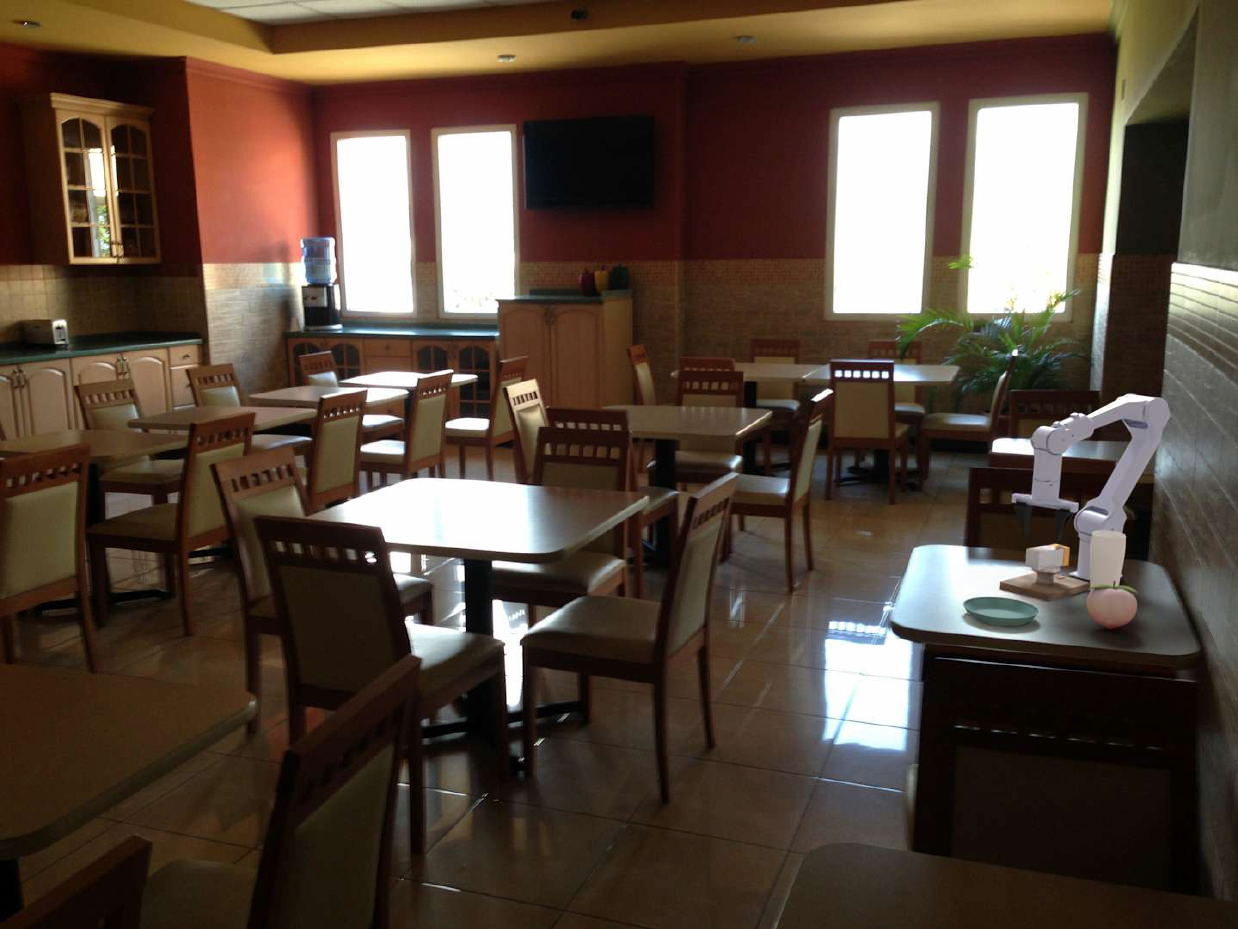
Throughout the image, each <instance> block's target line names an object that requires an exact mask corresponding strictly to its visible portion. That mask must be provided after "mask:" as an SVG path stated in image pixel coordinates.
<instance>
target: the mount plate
mask: <svg viewBox="0 0 1238 929" xmlns="http://www.w3.org/2000/svg"><path fill="white" fill-rule="evenodd" d="M1089 588H1090V582H1088V581H1084V580H1082V579H1081V580H1080V579H1077V578H1072V577H1068V576H1064V575H1060V574H1041V573H1037V572H1032V573H1027V574H1023V575H1021V576H1016V577H1013V578H1009V579H1005V580H1002V581H999V588H998V589H1001V590H1005V591H1009V592H1012V593H1016V594H1018V595H1023V596H1026V597H1031V598H1033V599H1037V600H1041V601H1045V602H1050V601H1053V600H1054V601H1055V600H1057V599H1061V598H1064V597H1067V596H1071V595H1074V594H1077V593H1081V592H1084V591H1089V590H1088V589H1089Z"/></svg>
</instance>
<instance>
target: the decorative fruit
mask: <svg viewBox="0 0 1238 929" xmlns="http://www.w3.org/2000/svg"><path fill="white" fill-rule="evenodd" d="M1091 589H1093V590H1092V591H1091V592H1090V590H1091ZM1087 591H1089V593H1088V595H1087V598H1086V609H1087V612H1088V614H1089V615H1090V617H1091V618H1092V619H1093V620H1094V621H1095V622H1097V623H1098V624H1099V625H1101V626H1103V627H1105V628H1106V629H1109V630H1112V629H1113V628H1114V629H1115V628H1118V627H1122V626H1125V625H1126V624H1129V623H1130V622H1132V620H1133V618H1134V617H1135V615H1136V613H1137V612H1138V601H1137V598H1136V596H1135V595H1134V594H1136V595H1138V596H1140V594H1139V593H1138V591H1137V590H1135V589H1134V588H1132V587H1131V586H1127V585H1119V586H1115V581H1114V584H1113V587H1112V586H1109V585H1106V584H1097V585H1094V586H1092V587H1090V588H1089V589H1088V590H1087Z"/></svg>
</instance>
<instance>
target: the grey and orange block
mask: <svg viewBox="0 0 1238 929" xmlns="http://www.w3.org/2000/svg"><path fill="white" fill-rule="evenodd" d="M1069 559H1070V546H1069V547H1068V546H1065V545H1062V544H1058V543H1052V544H1049V545H1048V544H1047V545H1041V546H1036V547H1029V548H1026V552H1025V564H1024V566H1025V567H1028V568H1030V569H1031V571H1032V572H1033V573H1035V572H1037V573H1041V574H1057V575H1060V574H1061V567H1067V566H1069V563H1070V562H1069V561H1070V560H1069Z"/></svg>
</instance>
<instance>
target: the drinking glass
mask: <svg viewBox="0 0 1238 929" xmlns="http://www.w3.org/2000/svg"><path fill="white" fill-rule="evenodd" d="M1126 540H1127V536H1126V534H1125V533H1123V532H1122V533H1119V532H1114V531H1104V530H1100V531H1094V532H1092V537H1091V546H1090V580H1089V583H1090V587H1092V586H1094V585H1097V584H1106V585H1109V586H1112V587H1113V584H1114V581H1115V586H1120V582H1121V581H1120V580H1121V577H1120V576H1121V575H1122V571H1123V570H1122V569H1123V566H1124V559H1125V554H1126V544H1127V543H1126V542H1127V541H1126ZM1092 590H1093V589H1091V590H1089V593H1090V592H1091V591H1092Z"/></svg>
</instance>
